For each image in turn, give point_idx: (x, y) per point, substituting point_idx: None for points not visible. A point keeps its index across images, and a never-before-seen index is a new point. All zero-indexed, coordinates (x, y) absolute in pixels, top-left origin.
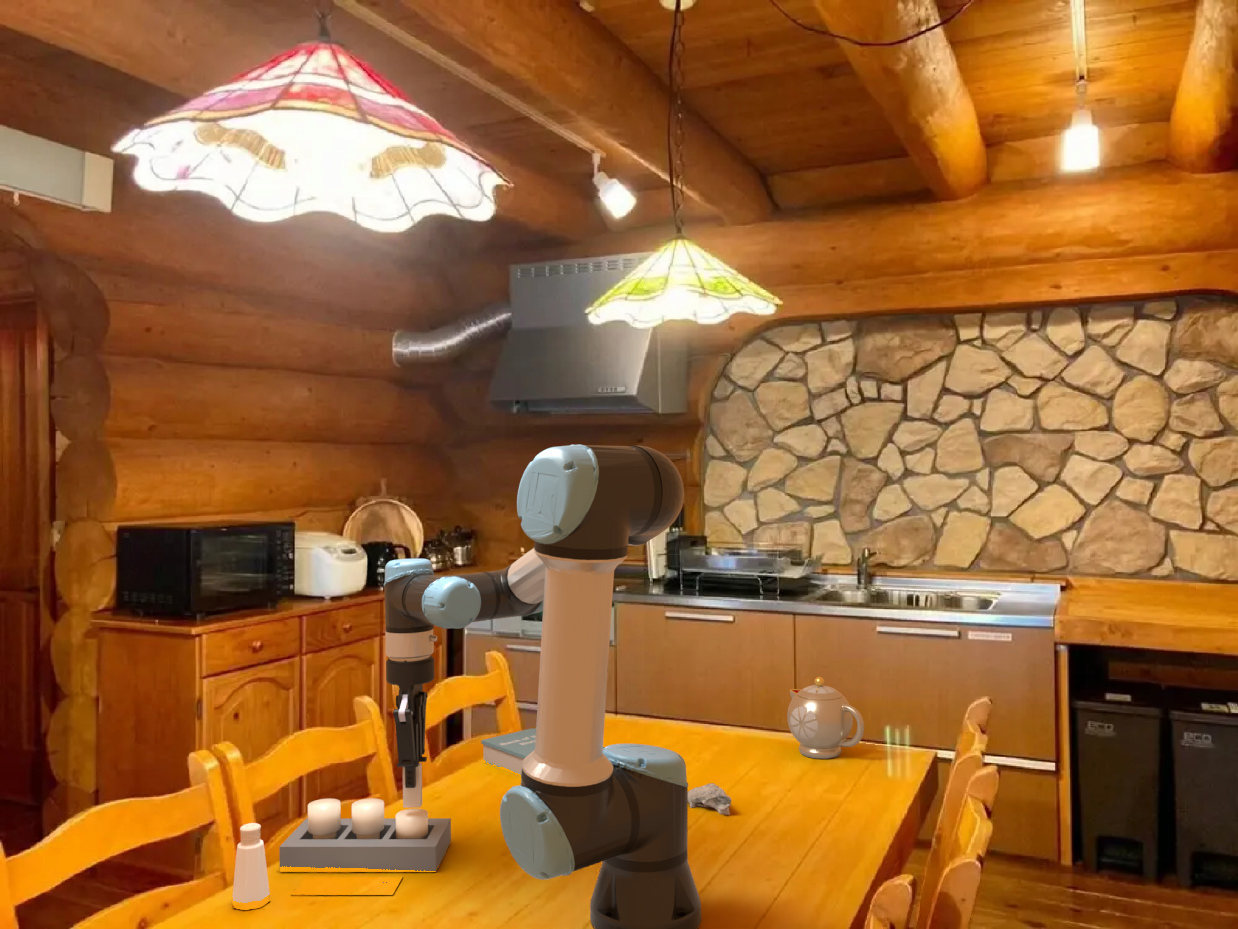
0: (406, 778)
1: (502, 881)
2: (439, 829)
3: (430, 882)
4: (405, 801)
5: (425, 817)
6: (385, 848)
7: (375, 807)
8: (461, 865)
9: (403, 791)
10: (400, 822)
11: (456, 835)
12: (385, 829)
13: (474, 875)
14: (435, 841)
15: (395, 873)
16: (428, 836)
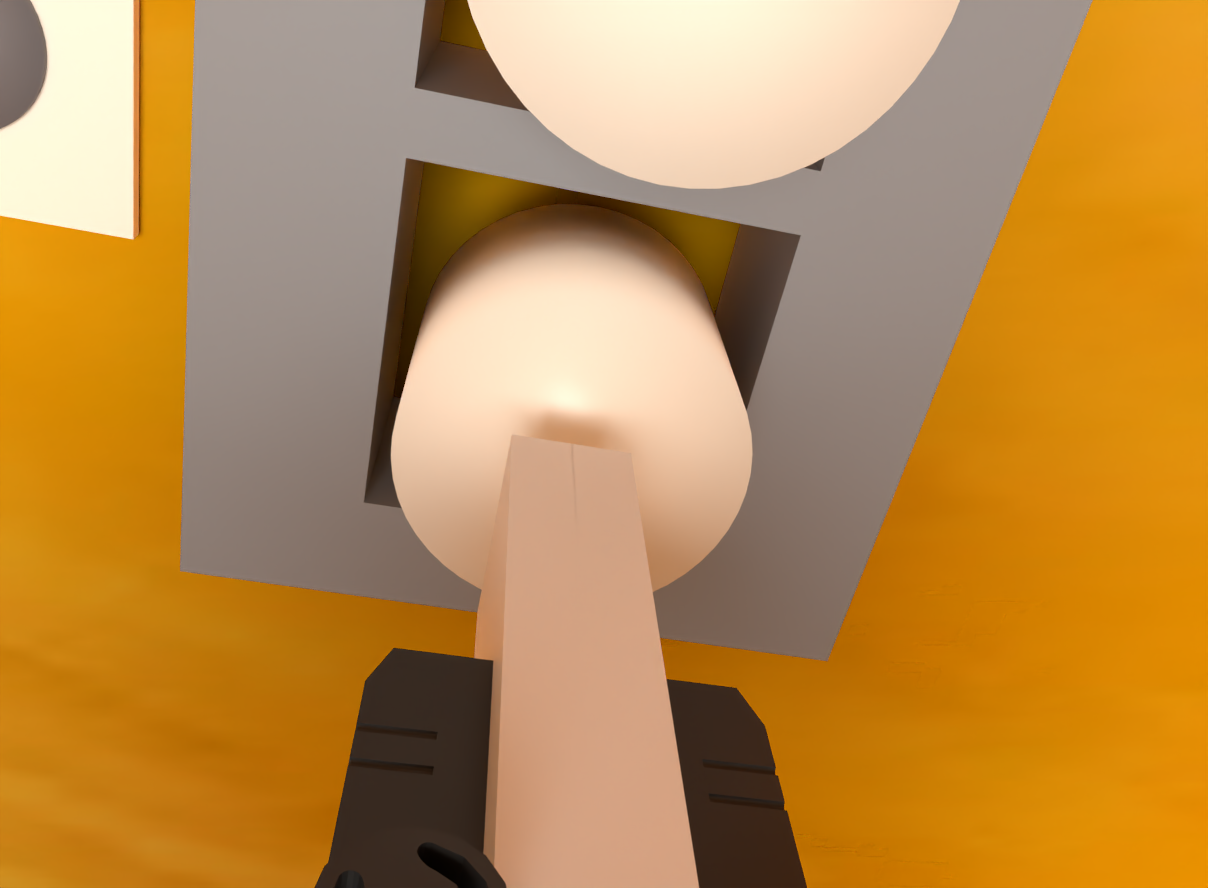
0: (351, 785)
1: (100, 797)
2: None
3: (75, 426)
4: (505, 502)
5: None
6: (193, 136)
7: (512, 72)
8: (365, 604)
9: (504, 562)
10: (438, 340)
11: (921, 571)
12: None
13: (193, 671)
14: (299, 570)
15: None
16: None
